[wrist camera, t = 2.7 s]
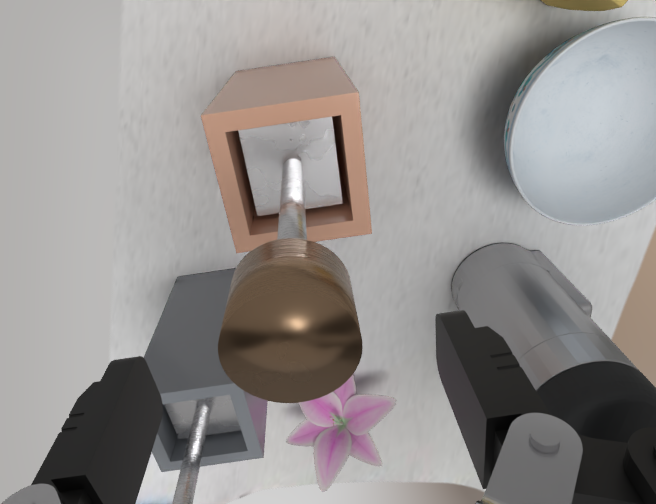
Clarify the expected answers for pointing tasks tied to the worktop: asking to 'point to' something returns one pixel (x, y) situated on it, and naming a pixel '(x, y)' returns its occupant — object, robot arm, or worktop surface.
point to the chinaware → (588, 126)
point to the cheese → (586, 4)
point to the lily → (340, 429)
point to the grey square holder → (200, 372)
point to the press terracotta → (278, 108)
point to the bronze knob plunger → (291, 275)
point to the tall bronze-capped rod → (198, 435)
